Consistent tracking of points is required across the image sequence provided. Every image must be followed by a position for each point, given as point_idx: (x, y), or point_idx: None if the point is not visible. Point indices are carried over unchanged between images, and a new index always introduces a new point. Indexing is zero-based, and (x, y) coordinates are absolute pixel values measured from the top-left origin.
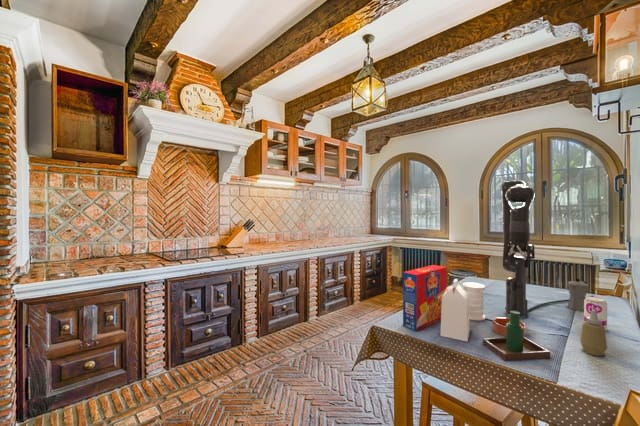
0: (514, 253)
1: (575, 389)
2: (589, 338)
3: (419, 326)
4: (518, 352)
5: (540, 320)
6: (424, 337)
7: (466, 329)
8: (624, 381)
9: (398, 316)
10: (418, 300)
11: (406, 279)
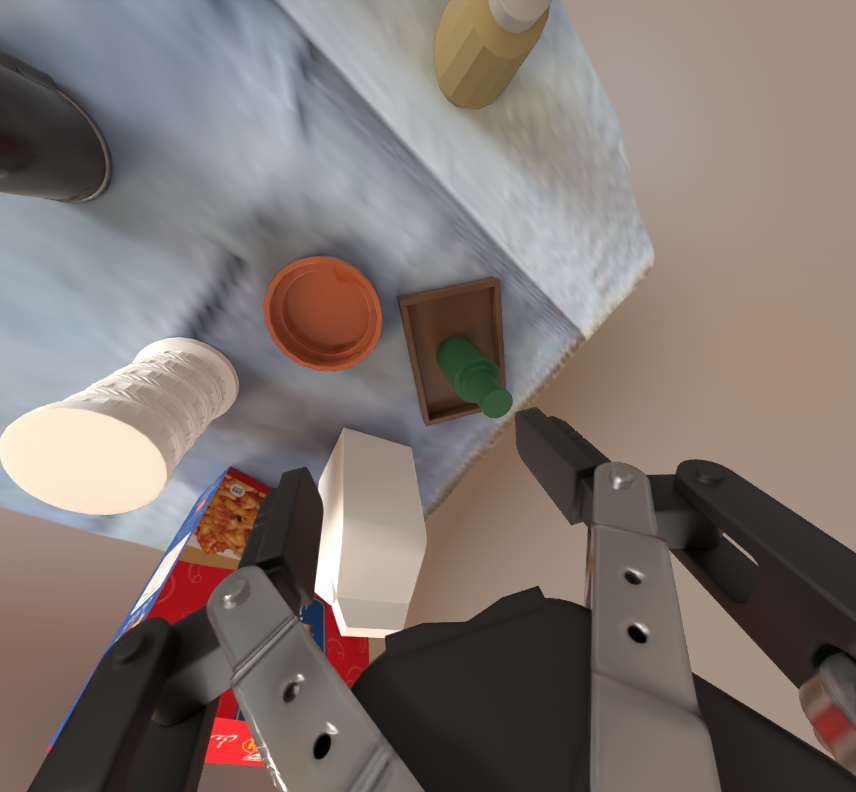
0: (282, 616)
1: (607, 312)
2: (503, 85)
3: None
4: (500, 370)
5: (85, 16)
6: None
7: (414, 469)
8: (609, 150)
9: None
10: None
11: None
